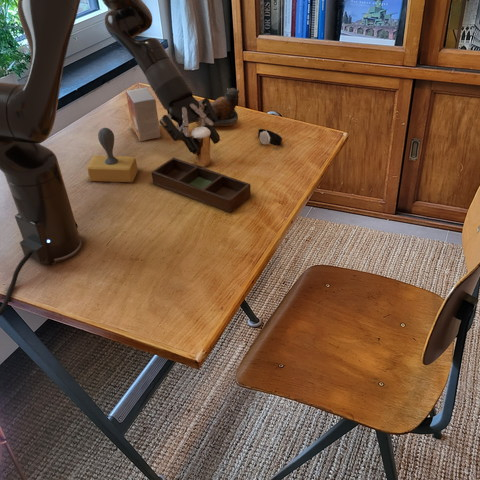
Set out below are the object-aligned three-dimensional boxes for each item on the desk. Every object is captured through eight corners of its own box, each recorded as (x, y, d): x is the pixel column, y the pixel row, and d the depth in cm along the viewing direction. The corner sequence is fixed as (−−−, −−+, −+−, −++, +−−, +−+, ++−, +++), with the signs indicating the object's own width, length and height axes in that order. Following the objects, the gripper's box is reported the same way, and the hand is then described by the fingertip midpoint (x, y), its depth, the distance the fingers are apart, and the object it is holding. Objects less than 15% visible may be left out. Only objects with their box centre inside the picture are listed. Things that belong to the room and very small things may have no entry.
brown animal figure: (193, 129, 153) (190, 92, 146) (199, 117, 158) (195, 81, 151) (239, 131, 152) (237, 94, 145) (242, 119, 157) (241, 83, 151)
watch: (253, 139, 149) (252, 126, 146) (267, 133, 151) (267, 120, 149) (272, 150, 144) (272, 137, 142) (286, 144, 147) (287, 131, 144)
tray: (230, 213, 124) (229, 200, 122) (153, 184, 133) (151, 171, 131) (250, 196, 129) (250, 184, 127) (174, 169, 138) (173, 157, 136)
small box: (132, 128, 153) (125, 90, 146) (152, 124, 155) (146, 86, 148) (140, 142, 148) (132, 102, 141) (161, 137, 149) (155, 98, 143)
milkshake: (215, 157, 142) (212, 119, 135) (211, 168, 138) (207, 130, 131) (197, 156, 142) (192, 118, 136) (192, 167, 138) (187, 129, 132)
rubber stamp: (138, 170, 137) (129, 123, 129) (132, 183, 133) (122, 135, 125) (97, 168, 138) (85, 121, 130) (89, 181, 134) (77, 134, 126)
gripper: (148, 85, 127) (190, 152, 129) (198, 66, 135) (236, 129, 137) (137, 101, 133) (177, 165, 135) (185, 82, 141) (222, 142, 143)
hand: (207, 147), depth 136 cm, fingers open, 6 cm apart
